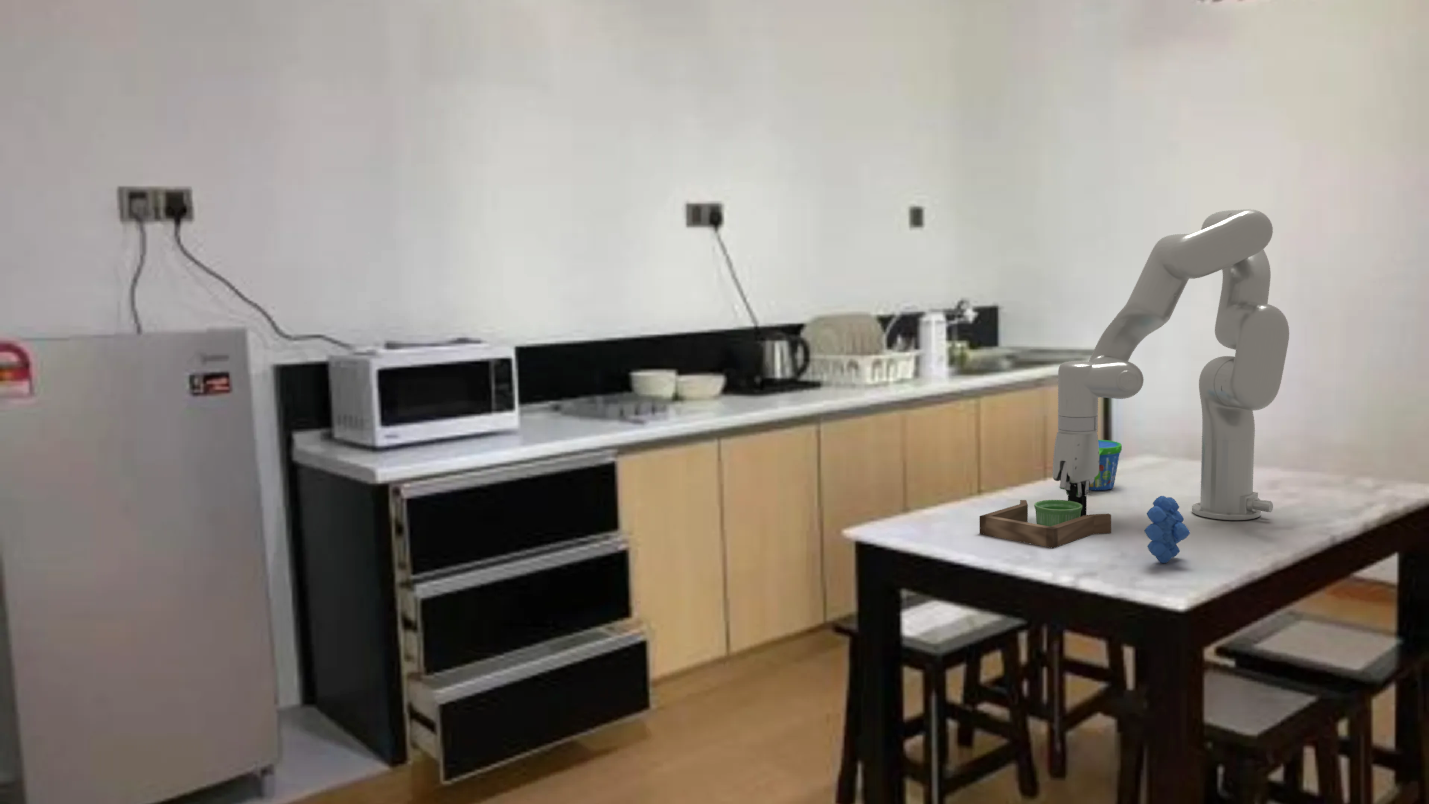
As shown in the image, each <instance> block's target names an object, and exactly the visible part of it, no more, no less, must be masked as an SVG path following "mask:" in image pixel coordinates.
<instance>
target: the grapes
mask: <svg viewBox="0 0 1429 804" xmlns="http://www.w3.org/2000/svg"><path fill="white" fill-rule="evenodd" d="M1152 505H1153V506H1152V507H1150V509H1148V510H1147V512H1146V516H1147V518H1148V519H1149V521H1150V522H1151V523H1150V524H1148V525H1147V526H1146V527H1145V529H1144V533H1145V535H1146V537H1147V538H1148V539H1149V540H1151V541H1150V542H1149V543H1148V544H1147V546H1146V547H1147V549H1148V551H1149V553H1150V554H1151V555H1152V556H1154V557H1155V558H1156V560H1157V561H1158V562H1159V563H1161V564H1166V563H1168V562H1170V560H1171V559H1173V558H1174V557H1176V556H1177V555H1178V554H1179V553H1180V552H1181V549H1180V547H1178V545H1177V544H1179V543H1180V542H1181V541H1184V540H1185V539H1187V537H1188V536H1189V535H1190V534H1191V532H1190V529H1189V528H1188V527H1187V525H1186V524H1185V523H1183V521H1185V518H1184V516H1183V514H1182V513H1181V512H1180V511H1179V509H1180V506H1179V504H1178V502H1177V501H1176V500H1175V499H1174V498H1173V497H1169V496H1168V497H1167V496H1165V495H1159V496H1158V497H1156V498H1155V500H1154V501H1153V502H1152Z"/></svg>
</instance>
